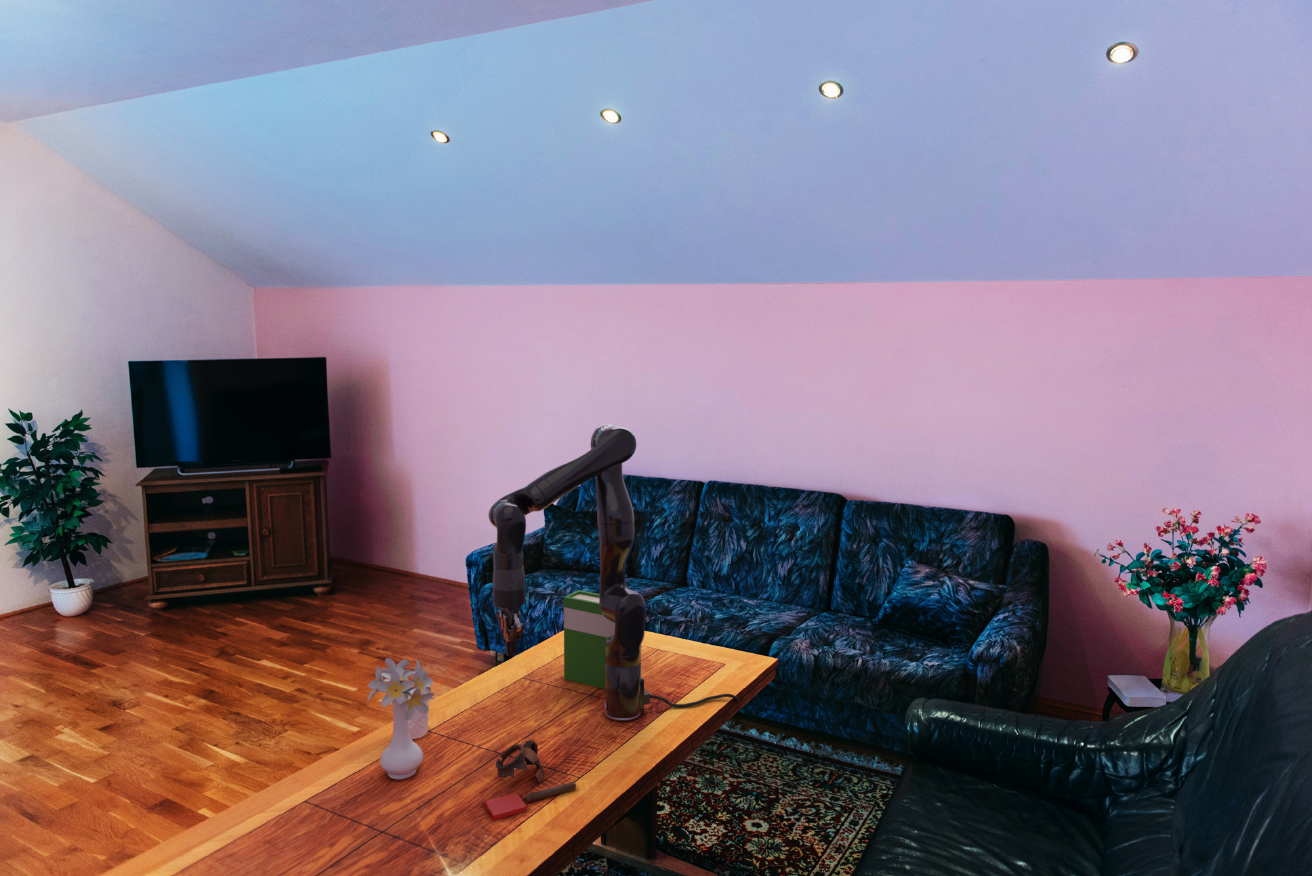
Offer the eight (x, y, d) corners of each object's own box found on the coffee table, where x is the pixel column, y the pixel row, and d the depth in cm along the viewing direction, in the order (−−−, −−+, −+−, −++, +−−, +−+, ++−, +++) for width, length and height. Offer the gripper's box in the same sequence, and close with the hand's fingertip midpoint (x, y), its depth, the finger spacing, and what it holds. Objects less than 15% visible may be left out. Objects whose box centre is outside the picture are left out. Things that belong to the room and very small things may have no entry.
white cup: (436, 728, 208) (435, 690, 206) (417, 743, 200) (416, 703, 199) (409, 723, 210) (408, 685, 209) (389, 737, 203) (388, 698, 201)
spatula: (570, 782, 183) (570, 775, 183) (581, 795, 178) (581, 788, 178) (484, 805, 174) (484, 798, 174) (493, 820, 169) (493, 812, 169)
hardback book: (630, 682, 236) (631, 600, 233) (616, 692, 229) (616, 607, 226) (579, 669, 244) (578, 590, 241) (564, 678, 238) (563, 597, 235)
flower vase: (403, 800, 176) (400, 686, 173) (356, 770, 188) (352, 663, 184) (454, 775, 186) (452, 667, 183) (406, 748, 197) (403, 647, 194)
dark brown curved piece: (539, 792, 180) (519, 764, 178) (504, 803, 183) (484, 775, 181) (556, 752, 191) (537, 725, 189) (523, 763, 194) (504, 737, 192)
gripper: (534, 589, 194) (536, 661, 196) (514, 575, 205) (516, 642, 207) (503, 595, 190) (505, 667, 192) (484, 579, 201) (486, 648, 204)
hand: (511, 654), depth 200 cm, fingers closed
